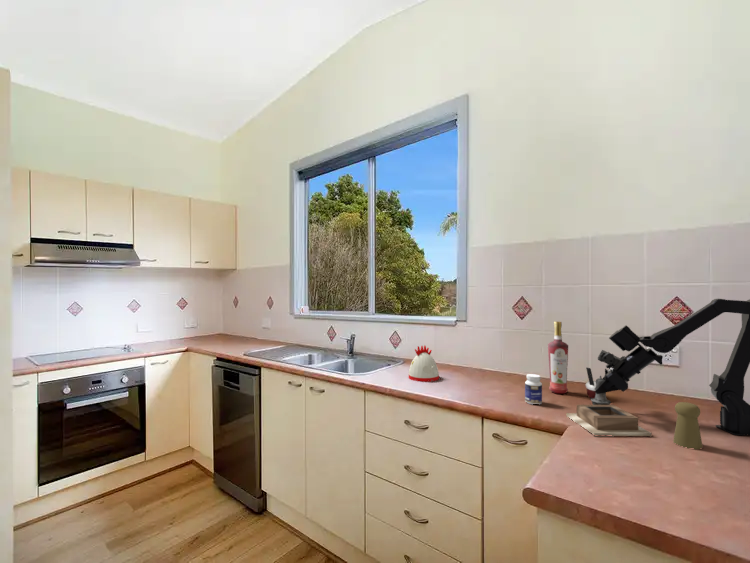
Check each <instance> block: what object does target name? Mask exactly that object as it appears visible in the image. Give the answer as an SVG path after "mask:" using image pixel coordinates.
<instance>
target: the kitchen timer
mask: <svg viewBox="0 0 750 563" xmlns="http://www.w3.org/2000/svg"><path fill="white" fill-rule="evenodd" d="M429 349H430V348H429V347H427V346H426V345H425V344H424V346H423V345H421V347H420V346H417V349H416V348H414V351H415V354H416V355H415V356H414V358H413V359H412V361H411V363H410V366H409V369H408V379H409V380H411V381H415V382H420V383H422V382H424V383H428V382H435V381H438V380H439V379H440V374H439V373H440V372H439V368H438V365H437V363H436V361H435V359H434V358H433V356H432V355H431V353H432V349H430V350H429Z"/></svg>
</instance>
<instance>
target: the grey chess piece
mask: <svg viewBox="0 0 750 563" xmlns="http://www.w3.org/2000/svg"><path fill="white" fill-rule="evenodd" d="M595 381H596V388H595V390H596V389H597V388H598V387H599V386H600V385H601V384H602V383H603V382H604V379H603V377H602V375H600V376H599V378H597V379H595ZM590 401H591V405H611V404H612V402H611V400H609V399H608V398H607V392H606V393H601V394H596V395H595V398H592V399H591V398H590Z"/></svg>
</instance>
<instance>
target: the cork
mask: <svg viewBox="0 0 750 563" xmlns="http://www.w3.org/2000/svg"><path fill="white" fill-rule="evenodd" d="M674 410H675V412H676V414H677V417H676V422H675V428H674V429H675V430H674V434H673V440H672V441H673V443H674V444H675V443H676V444H675V445H677V444H678V445H677V446H679V445H680V446H679V447H681V446H683V447H682V448H685V447H687V448H686V449H689V448H694V449H693V450H701V449H700V448H702V447H703V441H702V435H701V431H700V429H701V428H700V425H699V419H698V418H699V417H700V414H701V409H700V407H699V406H698V405H697V404H694V403H691V402H685V401H684V402H683V401H679V402H677V403H675V406H674ZM703 448H704V447H703ZM703 448H702V449H703Z"/></svg>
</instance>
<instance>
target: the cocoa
mask: <svg viewBox="0 0 750 563" xmlns="http://www.w3.org/2000/svg"><path fill="white" fill-rule="evenodd" d="M585 370H586V372H587V377H588V380H587V382H586V383H585V389H586V394H587V396H588V398H590V400H591V399H592V398H595V395H596V393H595V387H596V380H594V377H593V373H592V372H593V371H592V369H591V367H586V369H585Z"/></svg>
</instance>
